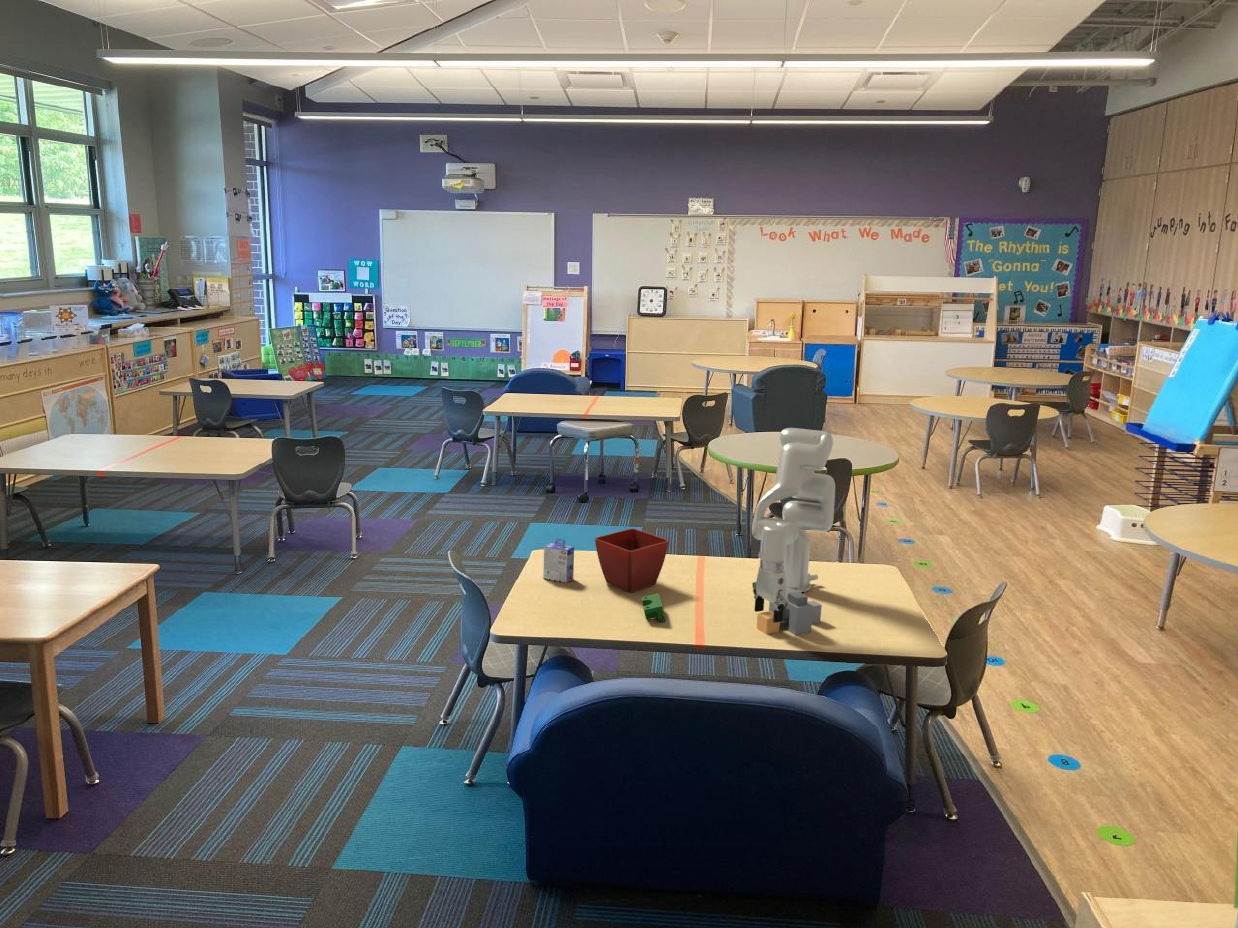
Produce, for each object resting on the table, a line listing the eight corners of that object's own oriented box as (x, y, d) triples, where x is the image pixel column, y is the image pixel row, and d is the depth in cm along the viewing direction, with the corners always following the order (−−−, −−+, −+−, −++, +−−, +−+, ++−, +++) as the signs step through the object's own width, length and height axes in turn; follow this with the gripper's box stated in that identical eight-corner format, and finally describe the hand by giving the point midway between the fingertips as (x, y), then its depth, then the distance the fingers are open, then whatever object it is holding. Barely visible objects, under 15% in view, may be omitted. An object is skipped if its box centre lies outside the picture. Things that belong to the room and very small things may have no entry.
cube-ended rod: (811, 617, 305) (812, 599, 304) (821, 622, 301) (822, 605, 300) (756, 628, 295) (757, 610, 294) (766, 634, 291) (767, 616, 289)
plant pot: (592, 582, 331) (593, 537, 327) (631, 571, 343) (633, 527, 339) (628, 598, 317) (630, 551, 313) (668, 585, 329) (670, 540, 326)
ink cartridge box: (574, 578, 333) (575, 540, 330) (567, 583, 329) (567, 544, 325) (550, 574, 338) (550, 536, 334) (542, 578, 333) (543, 540, 329)
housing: (783, 616, 305) (785, 583, 303) (810, 631, 293) (813, 597, 291) (768, 618, 303) (770, 585, 300) (795, 635, 291) (798, 600, 288)
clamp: (647, 624, 307) (641, 597, 308) (665, 620, 307) (659, 593, 308) (647, 624, 295) (640, 596, 296) (665, 620, 295) (659, 592, 296)
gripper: (799, 571, 283) (795, 624, 287) (765, 555, 298) (761, 605, 302) (779, 574, 280) (775, 627, 283) (745, 557, 295) (742, 608, 298)
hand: (768, 616), depth 292 cm, fingers open, 9 cm apart
